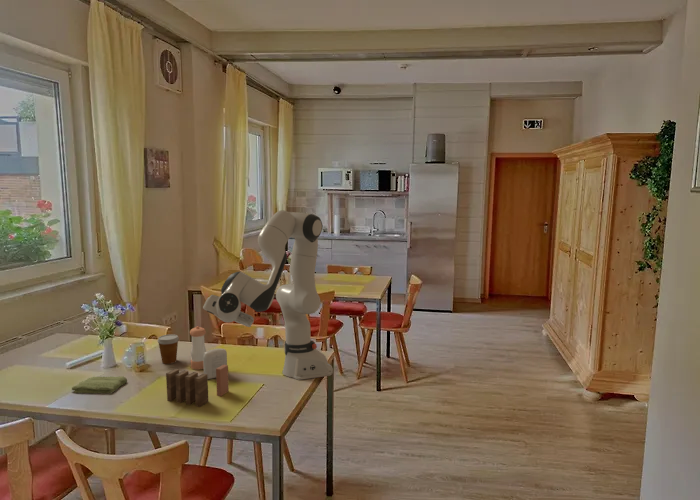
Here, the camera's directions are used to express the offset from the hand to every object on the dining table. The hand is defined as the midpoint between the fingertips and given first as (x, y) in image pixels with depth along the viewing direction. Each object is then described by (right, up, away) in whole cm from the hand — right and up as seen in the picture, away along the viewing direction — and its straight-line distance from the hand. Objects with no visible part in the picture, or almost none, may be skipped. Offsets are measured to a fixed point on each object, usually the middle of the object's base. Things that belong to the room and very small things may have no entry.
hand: (228, 316), depth 201 cm
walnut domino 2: (-15, -31, -9) cm, 36 cm away
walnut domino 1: (-19, -31, -8) cm, 38 cm away
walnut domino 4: (-7, -32, -13) cm, 35 cm away
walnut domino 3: (-11, -32, -11) cm, 35 cm away
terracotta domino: (-1, -31, -3) cm, 31 cm away
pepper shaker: (-20, -27, +26) cm, 42 cm away
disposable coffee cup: (-36, -26, +32) cm, 55 cm away
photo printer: (-9, -29, +14) cm, 33 cm away
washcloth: (-54, -30, +3) cm, 62 cm away
